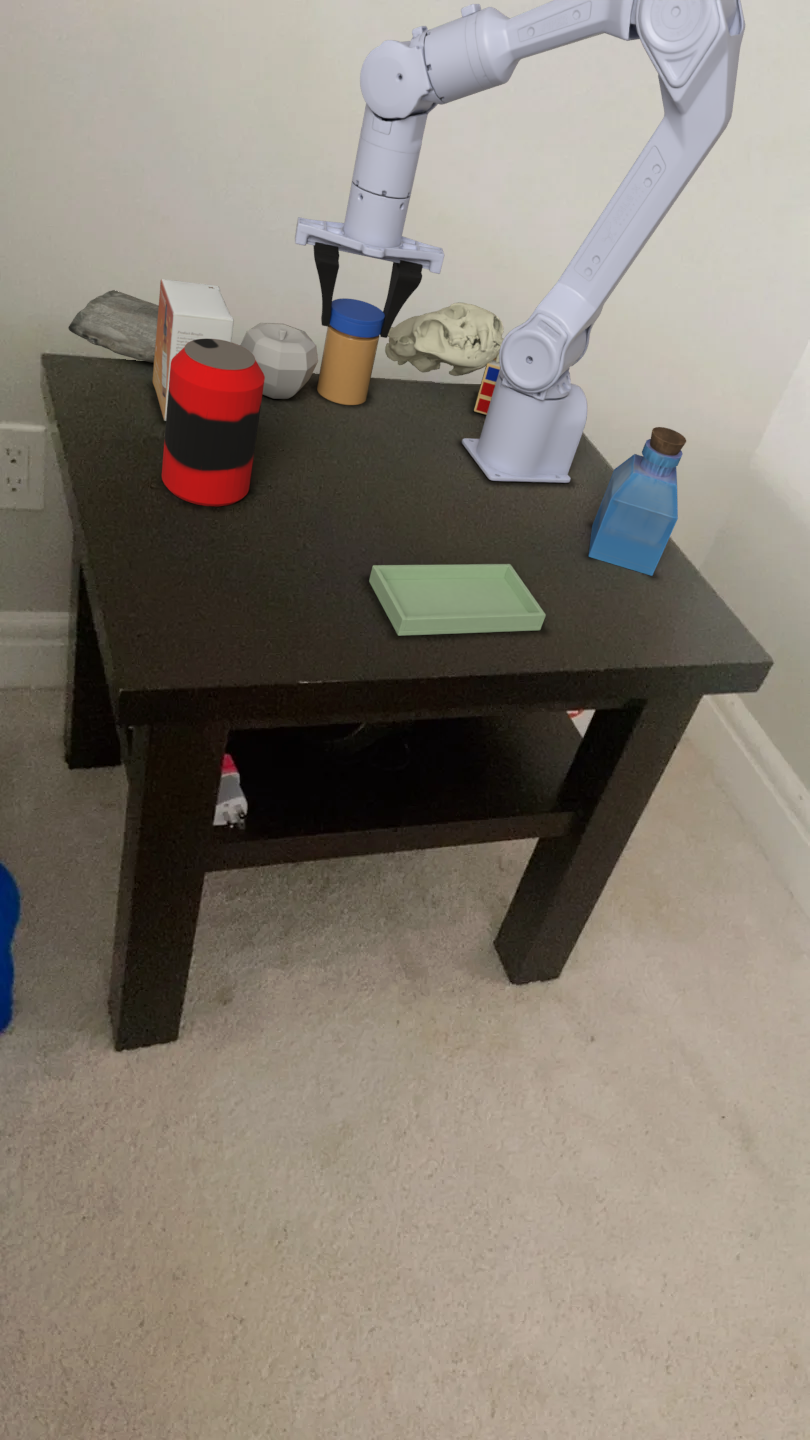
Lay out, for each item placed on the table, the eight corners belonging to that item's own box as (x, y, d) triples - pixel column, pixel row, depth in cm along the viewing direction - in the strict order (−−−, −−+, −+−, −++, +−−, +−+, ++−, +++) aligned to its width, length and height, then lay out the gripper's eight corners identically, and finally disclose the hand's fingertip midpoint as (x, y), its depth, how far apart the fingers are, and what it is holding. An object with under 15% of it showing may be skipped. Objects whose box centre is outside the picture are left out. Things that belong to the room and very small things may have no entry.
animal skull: (366, 377, 118) (370, 309, 118) (417, 400, 125) (421, 335, 125) (471, 350, 108) (475, 275, 108) (520, 376, 115) (525, 306, 115)
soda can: (216, 457, 96) (231, 329, 88) (265, 498, 93) (285, 369, 85) (144, 471, 91) (153, 338, 84) (193, 515, 88) (207, 380, 80)
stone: (243, 358, 113) (118, 321, 115) (246, 320, 111) (119, 284, 113) (196, 386, 104) (63, 347, 107) (198, 347, 102) (62, 307, 104)
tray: (505, 579, 91) (510, 563, 90) (540, 630, 87) (546, 614, 86) (368, 581, 86) (372, 565, 85) (397, 635, 82) (402, 619, 81)
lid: (326, 310, 109) (329, 293, 108) (379, 320, 110) (383, 304, 109) (328, 331, 105) (331, 314, 104) (383, 342, 106) (386, 325, 105)
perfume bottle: (652, 575, 98) (703, 460, 90) (588, 556, 98) (634, 439, 90) (652, 544, 102) (702, 432, 95) (592, 525, 102) (636, 412, 95)
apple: (327, 401, 110) (338, 340, 105) (272, 415, 104) (281, 352, 100) (275, 369, 113) (284, 308, 109) (219, 381, 108) (226, 318, 103)
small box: (151, 383, 104) (159, 276, 98) (208, 387, 106) (219, 283, 100) (162, 422, 99) (171, 312, 92) (221, 426, 101) (234, 318, 94)
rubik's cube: (521, 424, 116) (536, 377, 113) (473, 411, 116) (487, 363, 113) (524, 405, 121) (538, 359, 117) (478, 392, 120) (491, 346, 117)
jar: (357, 383, 115) (372, 307, 110) (373, 406, 112) (389, 329, 106) (310, 380, 113) (323, 303, 108) (325, 404, 110) (339, 325, 104)
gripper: (306, 183, 95) (283, 329, 103) (460, 217, 98) (425, 356, 106) (305, 161, 100) (283, 303, 109) (451, 195, 103) (419, 329, 112)
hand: (353, 328), depth 108 cm, fingers closed on lid, 5 cm apart
